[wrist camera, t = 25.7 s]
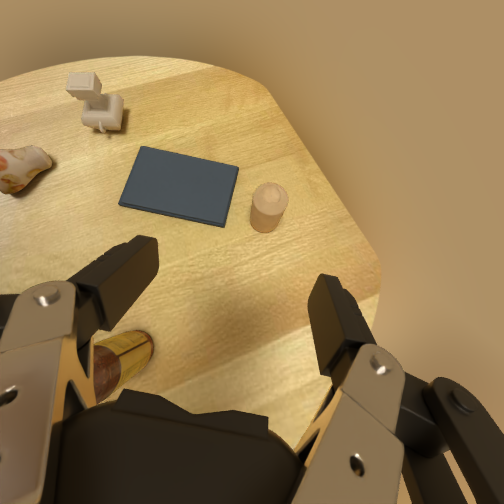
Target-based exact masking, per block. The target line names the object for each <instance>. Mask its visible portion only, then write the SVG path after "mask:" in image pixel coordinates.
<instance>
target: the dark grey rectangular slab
mask: <svg viewBox="0 0 504 504" xmlns="http://www.w3.org/2000/svg"><path fill="white" fill-rule="evenodd" d="M238 171H239V167H237V166H233V165H228V164H224V163H219V162H214V161H210V160H205V159H201V158H196V157H192V156H187V155H182V154H178V153H173V152H169V151H164V150H159V149H155V148H150V147H146V146H141V147H140V150H139V152H138V155H137V157H136V160H135V162H134V165H133V167H132V170H131V173H130V175H129V178H128V180H127V183H126V185H125V188H124V190H123V193H122V195H121V198H120V200H119V203H118V204H119V205H120V206H124V207H128V208H133V209H138V210H143V211H147V212H152V213H157V214H161V215H166V216H171V217H175V218H180V219H185V220H190V221H194V222H199V223H204V224H208V225H213V226H218V227H222V228H224V227H225V223H226V219H227V215H228V211H229V207H230V203H231V199H232V195H233V191H234V187H235V183H236V179H237V175H238Z"/></svg>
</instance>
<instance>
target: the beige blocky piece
mask: <svg viewBox="0 0 504 504" xmlns="http://www.w3.org/2000/svg"><path fill="white" fill-rule="evenodd" d="M101 88H102V84H101V82H100V80H99V78H98V77H97V75H96V74H95V72H69V75H68V80H67V86H66V91H67V92H68V93H69V94H71V95H72V96H73V97H76V98H77V99H78V100H85V103H84V107H83V112H82V117H81V120H82V123H83V125H85V126H88V127H92V128H96V129H98V130H100V131H101V132H102V133H105V132H106V130H120V129H121V122H122V116H123V101H124V99H123V98H122V97H121V96H120V95H115V94H106V93H104V94H100V93H101Z"/></svg>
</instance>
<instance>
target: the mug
mask: <svg viewBox="0 0 504 504" xmlns="http://www.w3.org/2000/svg"><path fill="white" fill-rule="evenodd" d="M51 165H52V161H51V159H50V158H49V156H48V155H47V154H46V152H44V151H43V150H42V149H41V148H39V147H36V146H32V145H31V146H28V147H24V148H20V149H0V191H1V192H2V193H4V194H11V193H15V192H18V191H20V190H22V189H23V188H24V187H25V186H26V185H27V184H28V183H29V182H30V181H31V180H32V179H33V178H34V177H35V176H36V175H37V174H38V173H39V172H41V171H43V170H45V169H48V168H50V167H51Z"/></svg>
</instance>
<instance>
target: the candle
mask: <svg viewBox="0 0 504 504" xmlns="http://www.w3.org/2000/svg"><path fill="white" fill-rule="evenodd" d="M287 205H288V195H287V192H286V191H285V189H284V188H283V187H281V186H280V185H278V184H276V183H264V184H261V185H260V186H258V187H257V188H256V190H255V191H254V194H253V200H252V207H251V214H250V222H251V225H252V226H253V228H254V229H255V230H257V231H259V232H262V233H267V232H270V231H272V230H274V229H275V228H276V226H277V224H278V223H279V221H280V219H281V217H282V215H283V213H284V211H285V209H286V207H287Z"/></svg>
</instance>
